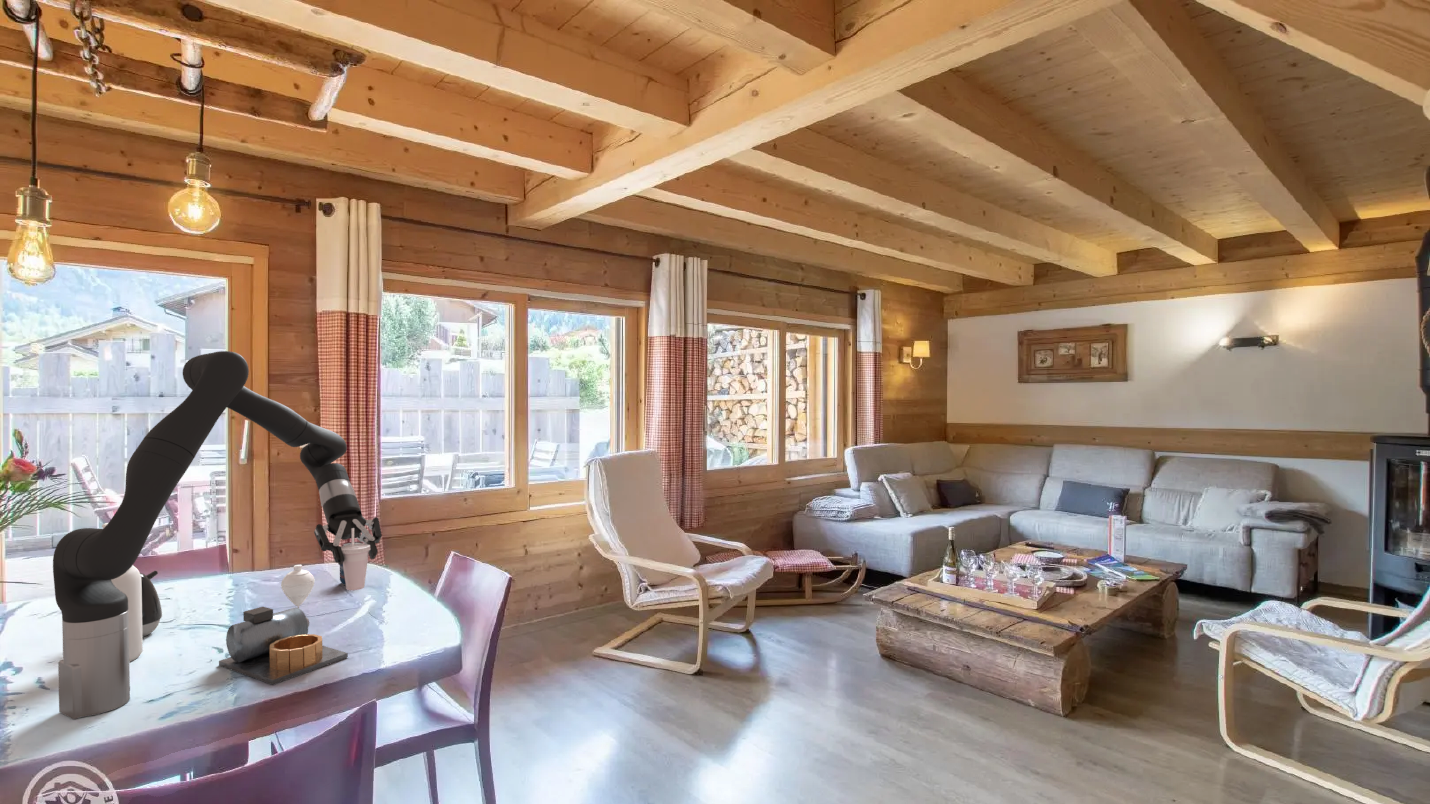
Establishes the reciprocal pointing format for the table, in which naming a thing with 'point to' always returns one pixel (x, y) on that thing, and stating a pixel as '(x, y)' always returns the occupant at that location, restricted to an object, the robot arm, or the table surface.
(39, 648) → the table surface
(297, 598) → the spinning top
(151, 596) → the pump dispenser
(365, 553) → the smoothie
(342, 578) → the soda can
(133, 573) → the alcohol
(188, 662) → the table surface
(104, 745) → the table surface
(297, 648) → the motor
